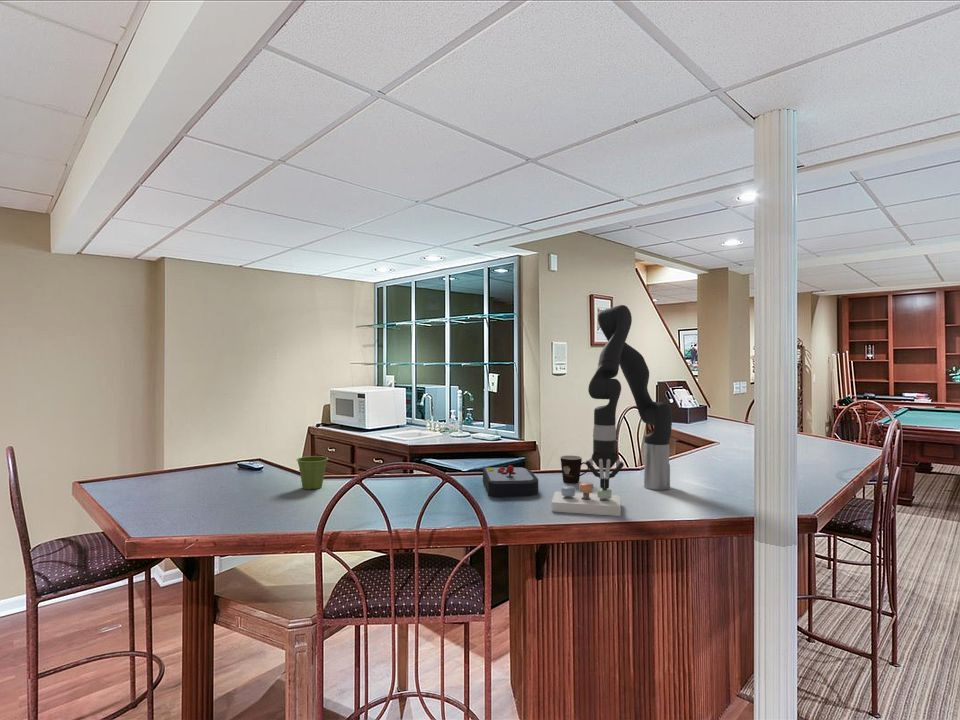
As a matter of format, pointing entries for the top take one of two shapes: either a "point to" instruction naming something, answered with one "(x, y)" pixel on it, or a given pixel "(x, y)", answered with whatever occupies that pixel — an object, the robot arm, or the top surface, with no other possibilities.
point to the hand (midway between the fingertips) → (604, 489)
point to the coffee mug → (571, 468)
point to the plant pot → (312, 471)
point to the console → (586, 504)
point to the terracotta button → (586, 489)
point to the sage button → (604, 494)
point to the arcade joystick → (510, 482)
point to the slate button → (568, 491)
